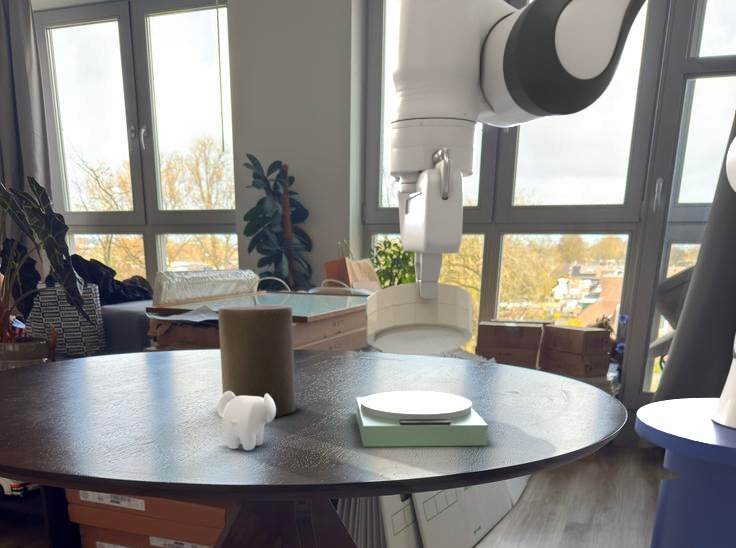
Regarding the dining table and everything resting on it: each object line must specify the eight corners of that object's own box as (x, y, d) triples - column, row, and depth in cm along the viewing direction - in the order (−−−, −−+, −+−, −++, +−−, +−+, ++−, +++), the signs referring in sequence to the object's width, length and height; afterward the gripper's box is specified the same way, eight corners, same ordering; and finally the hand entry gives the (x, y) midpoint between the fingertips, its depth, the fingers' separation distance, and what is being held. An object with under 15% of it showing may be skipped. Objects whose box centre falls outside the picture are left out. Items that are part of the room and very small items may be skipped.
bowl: (461, 356, 91) (460, 317, 91) (482, 327, 78) (481, 282, 79) (364, 356, 90) (363, 317, 90) (370, 327, 78) (370, 282, 78)
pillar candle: (279, 421, 93) (274, 299, 87) (210, 415, 95) (202, 297, 90) (306, 405, 101) (303, 294, 96) (242, 401, 104) (236, 292, 99)
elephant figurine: (289, 439, 84) (288, 388, 82) (259, 457, 77) (256, 402, 75) (237, 434, 86) (234, 384, 84) (203, 451, 79) (199, 397, 77)
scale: (460, 414, 97) (461, 390, 95) (486, 445, 82) (488, 418, 80) (356, 414, 96) (356, 390, 95) (363, 446, 81) (363, 418, 80)
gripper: (483, 144, 64) (473, 305, 69) (446, 167, 84) (440, 291, 88) (413, 143, 64) (408, 305, 69) (391, 166, 83) (389, 291, 88)
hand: (426, 297), depth 79 cm, fingers closed on bowl
